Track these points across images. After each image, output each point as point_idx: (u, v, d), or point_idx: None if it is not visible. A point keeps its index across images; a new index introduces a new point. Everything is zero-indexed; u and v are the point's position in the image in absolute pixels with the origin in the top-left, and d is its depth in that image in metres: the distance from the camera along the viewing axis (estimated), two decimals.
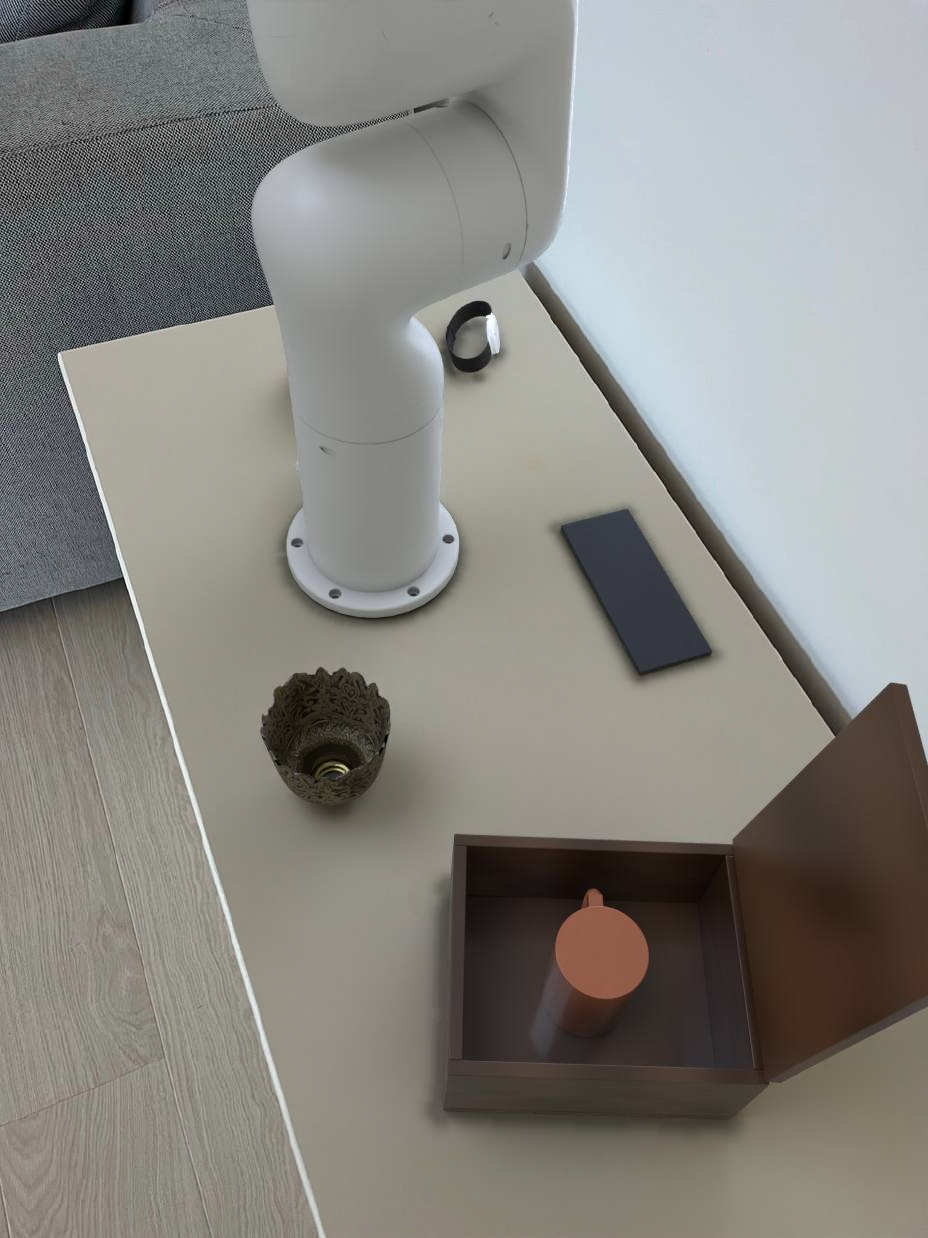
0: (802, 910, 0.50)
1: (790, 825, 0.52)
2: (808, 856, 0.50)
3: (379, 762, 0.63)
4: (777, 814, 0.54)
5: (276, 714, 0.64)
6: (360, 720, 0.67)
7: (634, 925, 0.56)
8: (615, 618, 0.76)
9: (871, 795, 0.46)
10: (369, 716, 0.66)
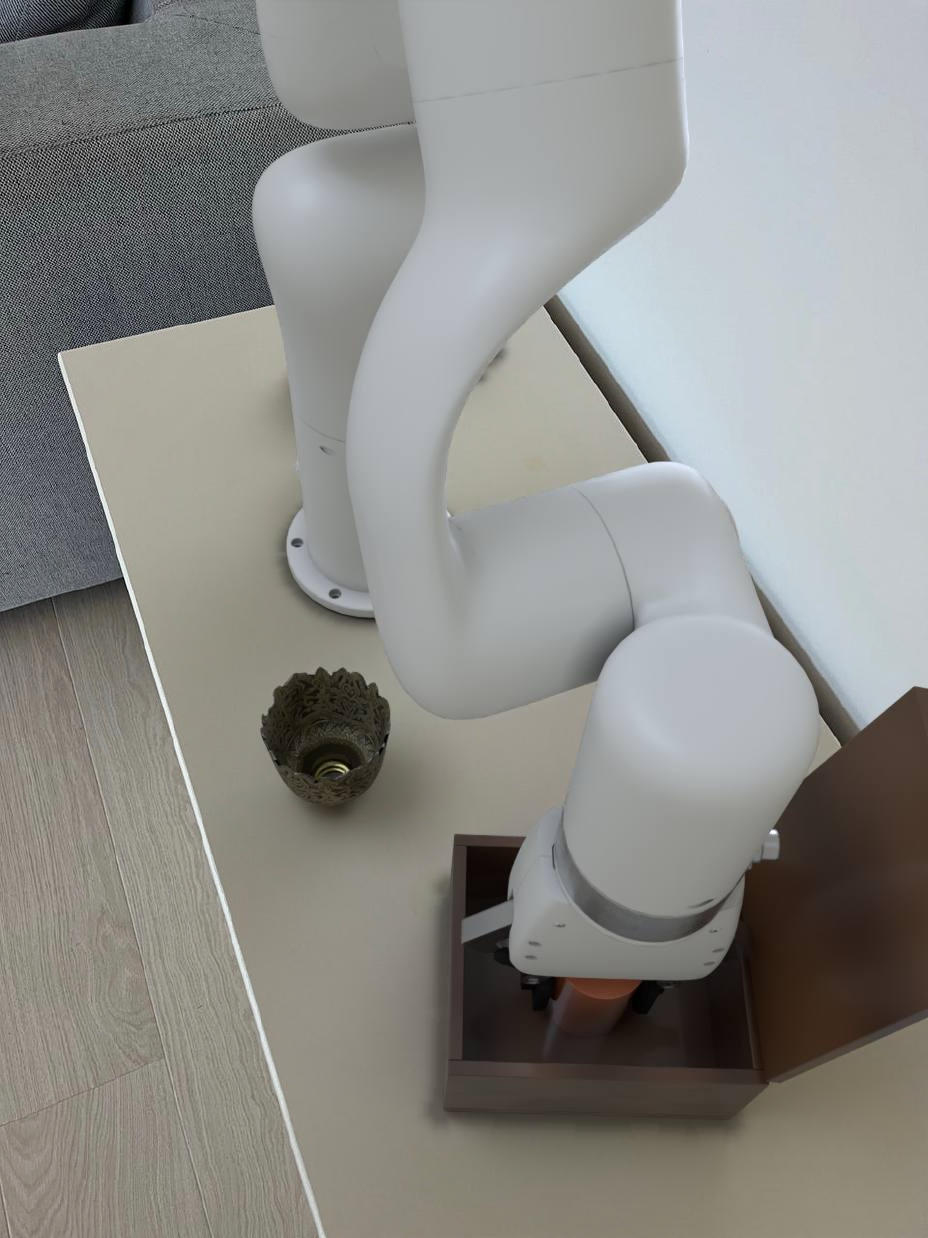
0: (811, 911, 0.50)
1: (799, 826, 0.52)
2: (818, 857, 0.50)
3: (379, 762, 0.63)
4: (784, 815, 0.54)
5: (276, 714, 0.64)
6: (360, 720, 0.67)
7: None
8: None
9: (891, 798, 0.46)
10: (369, 716, 0.66)
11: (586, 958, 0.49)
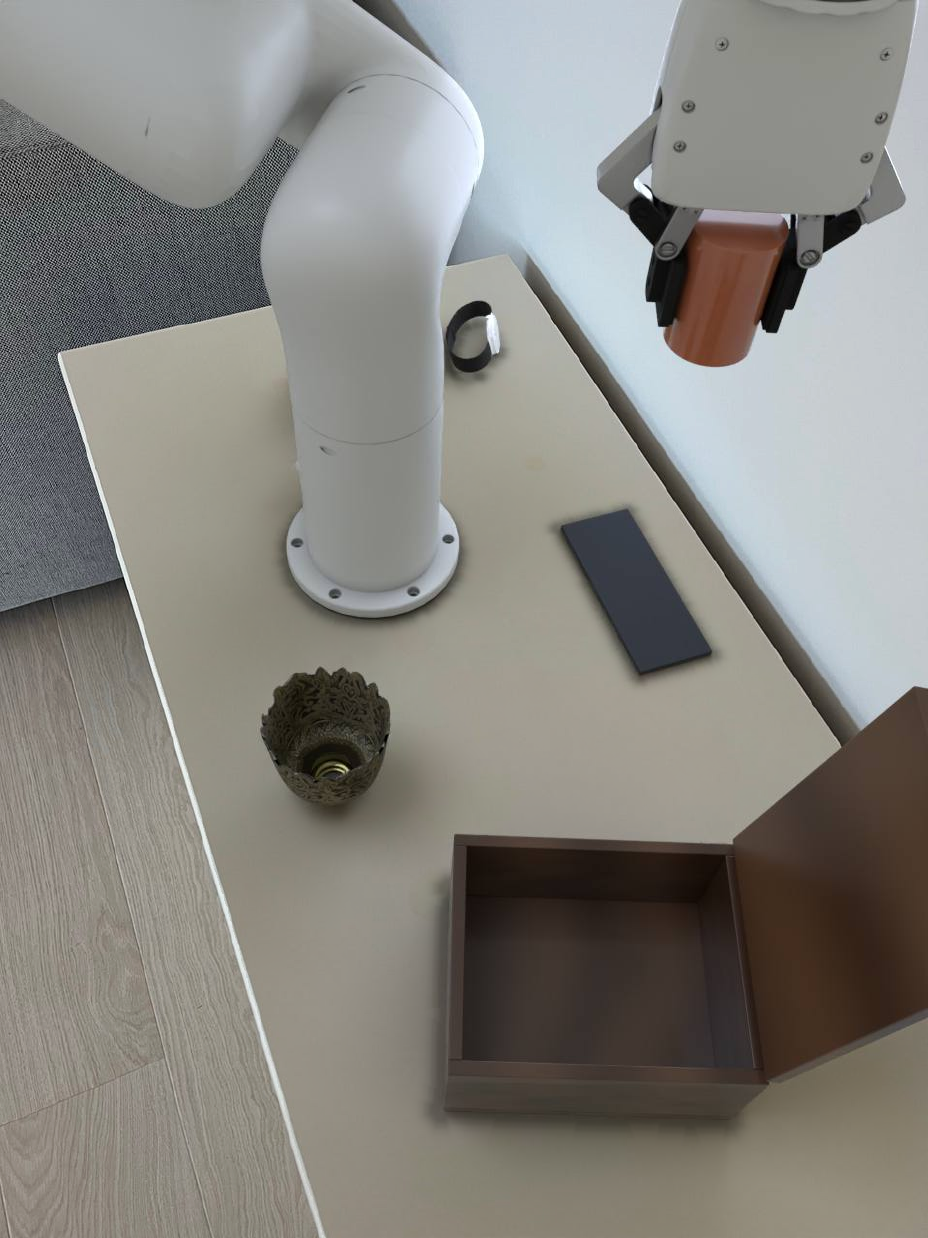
0: (811, 911, 0.50)
1: (799, 826, 0.52)
2: (818, 857, 0.50)
3: (379, 762, 0.63)
4: (784, 815, 0.54)
5: (276, 714, 0.64)
6: (360, 720, 0.67)
7: None
8: (615, 618, 0.76)
9: (891, 798, 0.46)
10: (369, 716, 0.66)
11: (740, 133, 0.46)
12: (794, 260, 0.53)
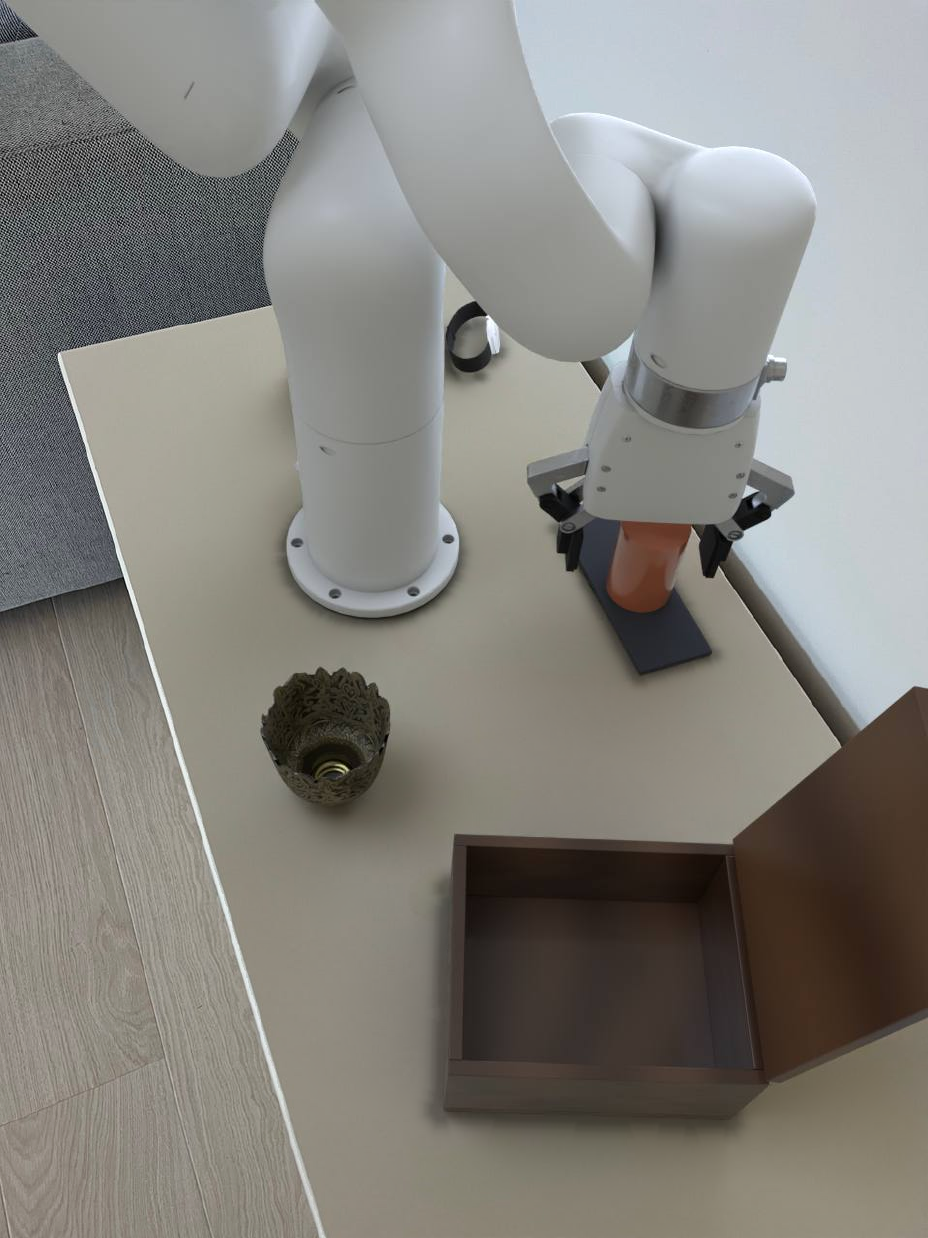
0: (811, 911, 0.50)
1: (799, 826, 0.52)
2: (818, 857, 0.50)
3: (379, 762, 0.63)
4: (784, 815, 0.54)
5: (276, 714, 0.64)
6: (360, 720, 0.67)
7: None
8: (615, 618, 0.76)
9: (891, 798, 0.46)
10: (369, 716, 0.66)
11: (643, 484, 0.66)
12: None
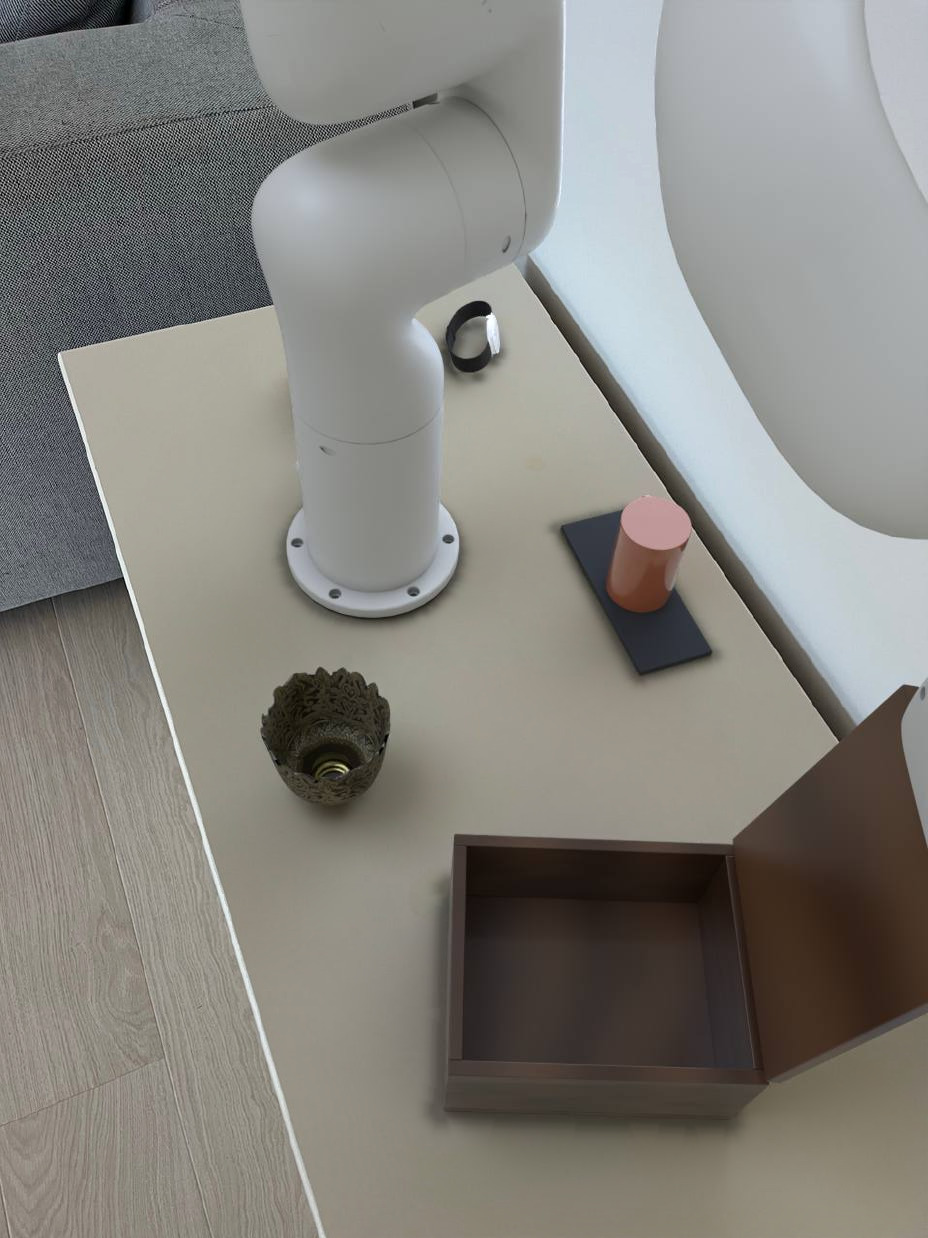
0: (807, 911, 0.50)
1: (795, 825, 0.52)
2: (814, 857, 0.50)
3: (379, 762, 0.63)
4: (781, 815, 0.54)
5: (276, 714, 0.64)
6: (360, 720, 0.67)
7: (680, 508, 0.74)
8: (615, 618, 0.76)
9: (882, 796, 0.46)
10: (369, 716, 0.66)
11: None
12: None
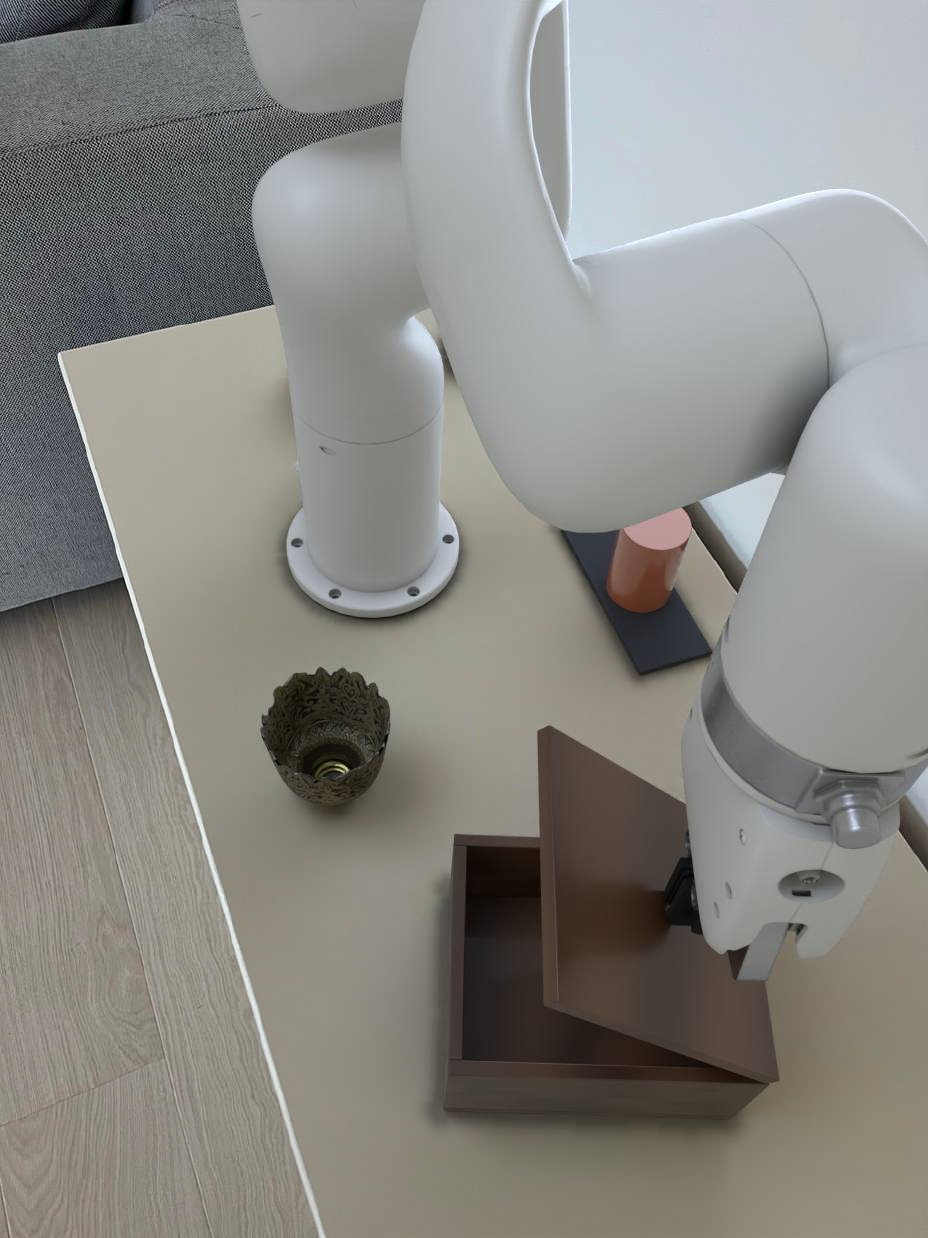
0: None
1: None
2: None
3: (379, 762, 0.63)
4: None
5: (276, 714, 0.64)
6: (360, 720, 0.67)
7: (680, 508, 0.74)
8: (615, 618, 0.76)
9: None
10: (369, 716, 0.66)
11: (696, 755, 0.42)
12: None
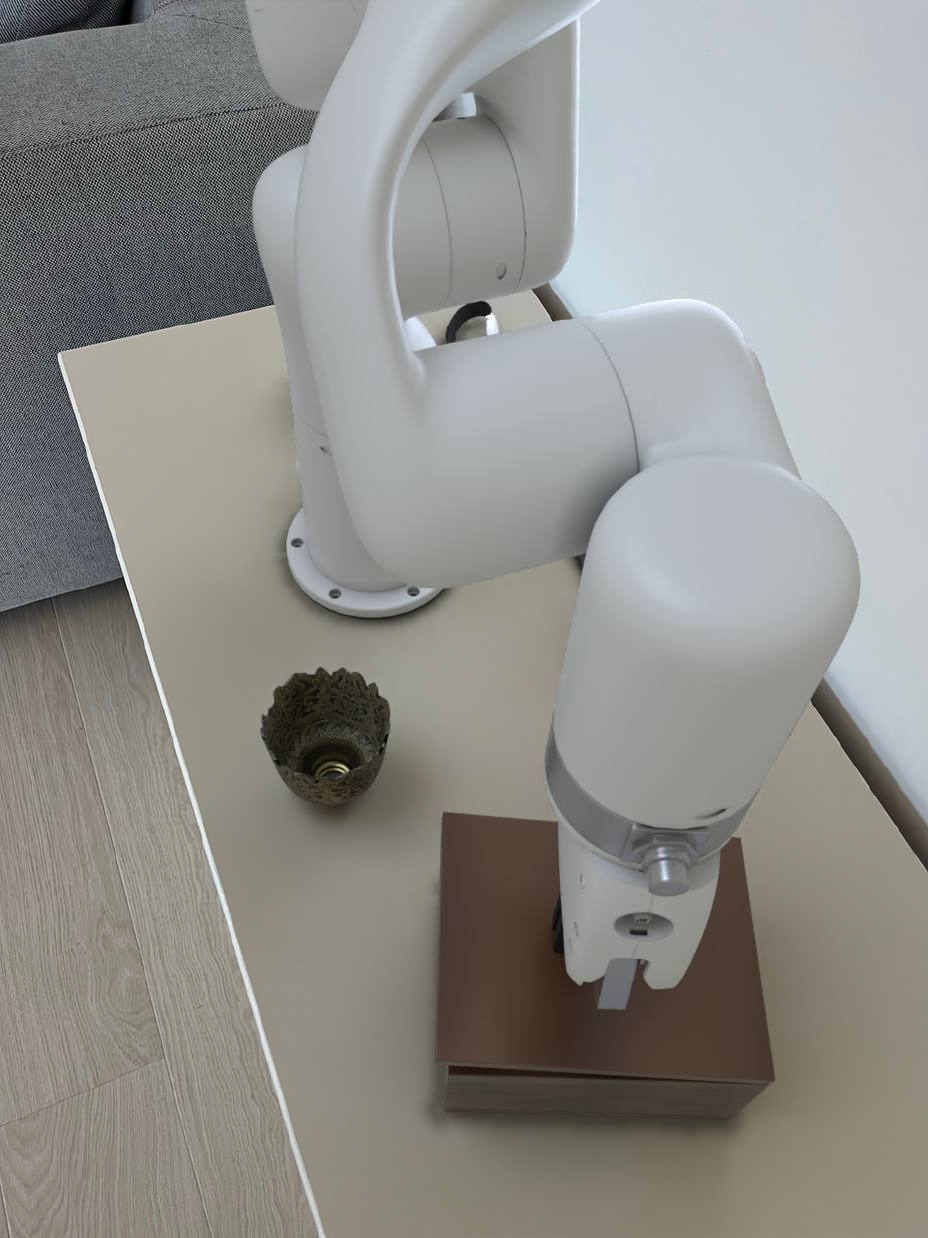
0: None
1: None
2: None
3: (379, 762, 0.63)
4: None
5: (276, 714, 0.64)
6: (360, 720, 0.67)
7: None
8: None
9: None
10: (369, 716, 0.66)
11: None
12: None
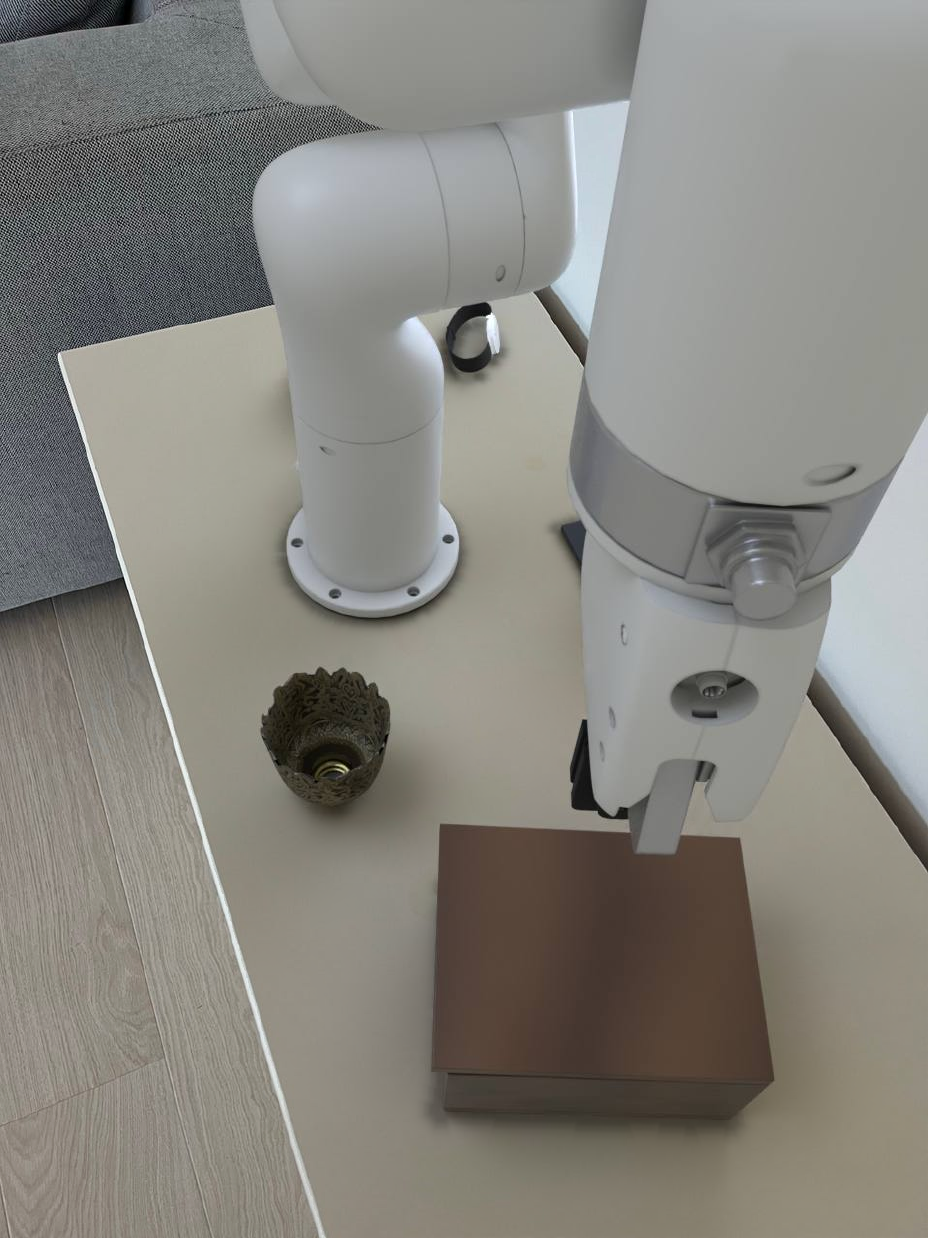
0: None
1: None
2: None
3: (379, 762, 0.63)
4: None
5: (276, 714, 0.64)
6: (360, 720, 0.67)
7: None
8: None
9: None
10: (369, 716, 0.66)
11: (587, 567, 0.33)
12: None
